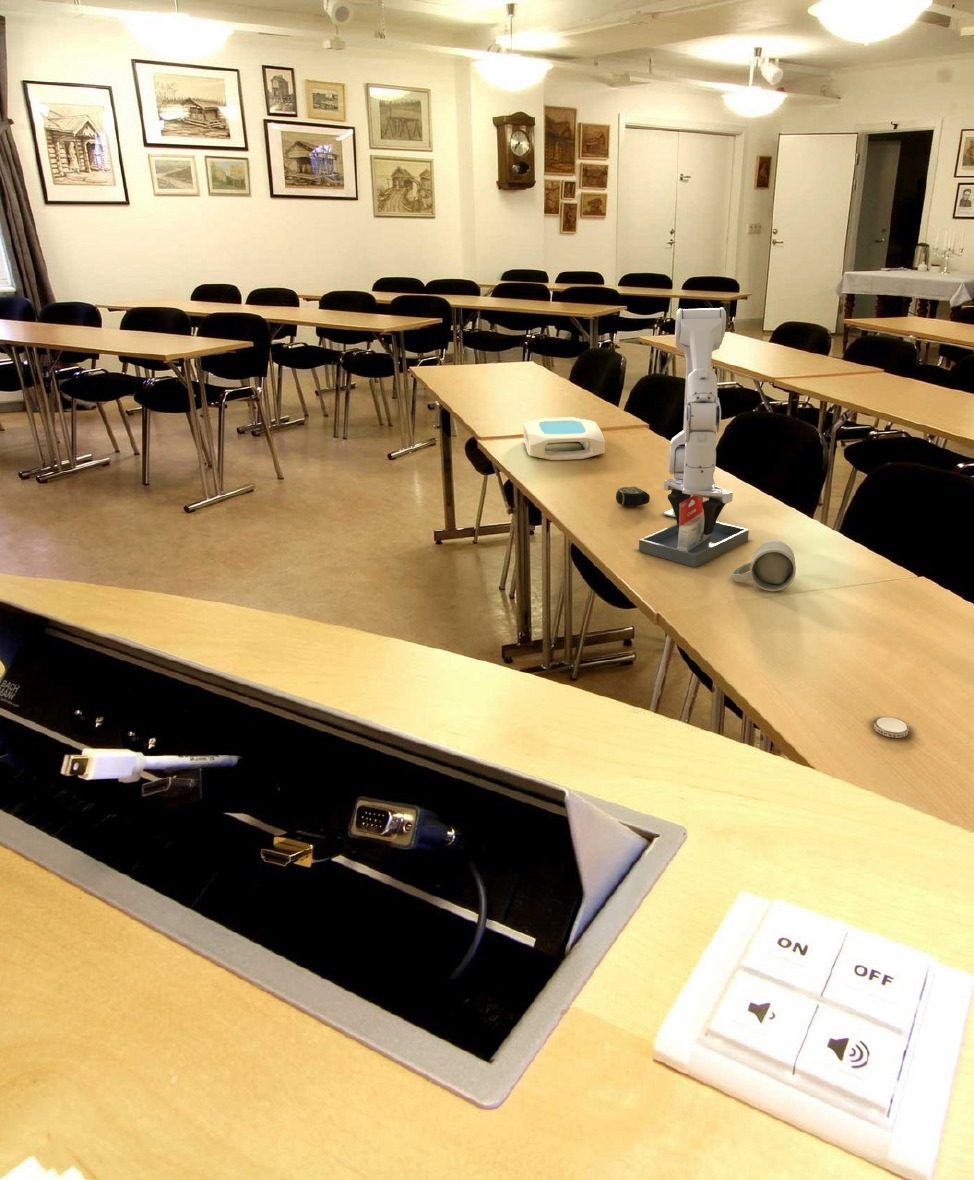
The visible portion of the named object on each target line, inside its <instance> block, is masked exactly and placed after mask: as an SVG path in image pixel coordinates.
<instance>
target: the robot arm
mask: <svg viewBox="0 0 974 1180" xmlns="http://www.w3.org/2000/svg"><path fill="white" fill-rule="evenodd" d="M674 325H675V327H674V328H675V329H674V337H675V339H674V345H675V350H677V351H679V352H682V353H683V356H684V358H685V363H686V364H685V387H684V407H683V409H684V410H683V430H682V431H680V432H679V433H678V434H676V435H675V436H673V437H672V438H671V440H670V441H669V450H668V473H669V474H670V475H673V478H668V479H665V480H664V481H663V490H664V491H670V493H669V494H667V500H668V501H669V503H670V505H671V507H672V508H671V509H670V510H666V511H665V512H663V514H664V516H668V517H672V518H675V521H676V523H677V527H678V528H679V522H680V520H679V519H680V503H682V502H684V501H685V500H687V499H689V498H690V497H692V496H694V495H695V496H700V497H703V502H702V506H703V512H704V535H709V534H711V533H713V529H714V526H715V523H716V522H717V520H718V518H719V516H720V514H721V513H722V511H723V509H724V507H725V506H726V505H727V504H729V503H732V502H733V495H734V491H731V490H727V489H724V488H722V487H719V486H717V485H716V481H715V479H714V473H715V472H716V464H717V450H716V449H717V448H716V446H717V433H719V431H720V428H721V423H722V422H721V420H722V408H721V403H720V398H719V397H718V376H717V374H716V372H714V371H713V370H712V360H713V359H712V357H713V352H715V351H717V350H719V349H720V348H721V345H722V344H723V341H724V338H725V335H726V325H727V312H726V310H725V308H724V307H719V308H688V309H687V308H686V309H685V308H684V309H683V308H678V309H677V311H676V313H675V324H674ZM682 445H683V446H682ZM694 504H695V501H694V500H691V502H690V504H689V506H688V508H689V507H690V506H692V505H694Z"/></svg>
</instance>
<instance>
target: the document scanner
mask: <svg viewBox="0 0 974 1180" xmlns="http://www.w3.org/2000/svg"><path fill="white" fill-rule="evenodd" d="M522 432H523V440H524V446H525V448H526V451H527V452H526V453H527V455H528V456H530V457H533V458H540V459H546V460H551V461H562V460H565V461H566V460H584V459H588V458H591V457H594V456H595V457H596V456H599V455H602V454H604V453H605V452H606V440H605V437H604V435H603V432H602V430H601V428H600V427H599V425H598V423H597V422H596V421H594V420H590V419H585V418H579V417H573V416H563V417H561V416H560V417H559V416H558V417H542V418H539V419H535V420H531V421H528V422H527V421H526V422H524V423H523V424H522ZM573 442H576V443H577V442H579V443H580V444H581V445H582V447H583V448H584V449H581V450H566V451H548V450H546V447H547V445H548V444H557V443H573Z"/></svg>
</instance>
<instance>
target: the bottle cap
mask: <svg viewBox="0 0 974 1180" xmlns="http://www.w3.org/2000/svg"><path fill="white" fill-rule="evenodd" d="M873 728H874V730H875V731H876V732H878V733H879V734H880V735H882V736H885V737H888V738H895V739H897V738H899V739H900V738H904V737H907V736H908V735H909V731H910V727H909V724H908V723H907V722H905V721H904V720H901V719H899V718H897V717H893V716H881V717H877V718H876V719H875V720H874V724H873Z"/></svg>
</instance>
